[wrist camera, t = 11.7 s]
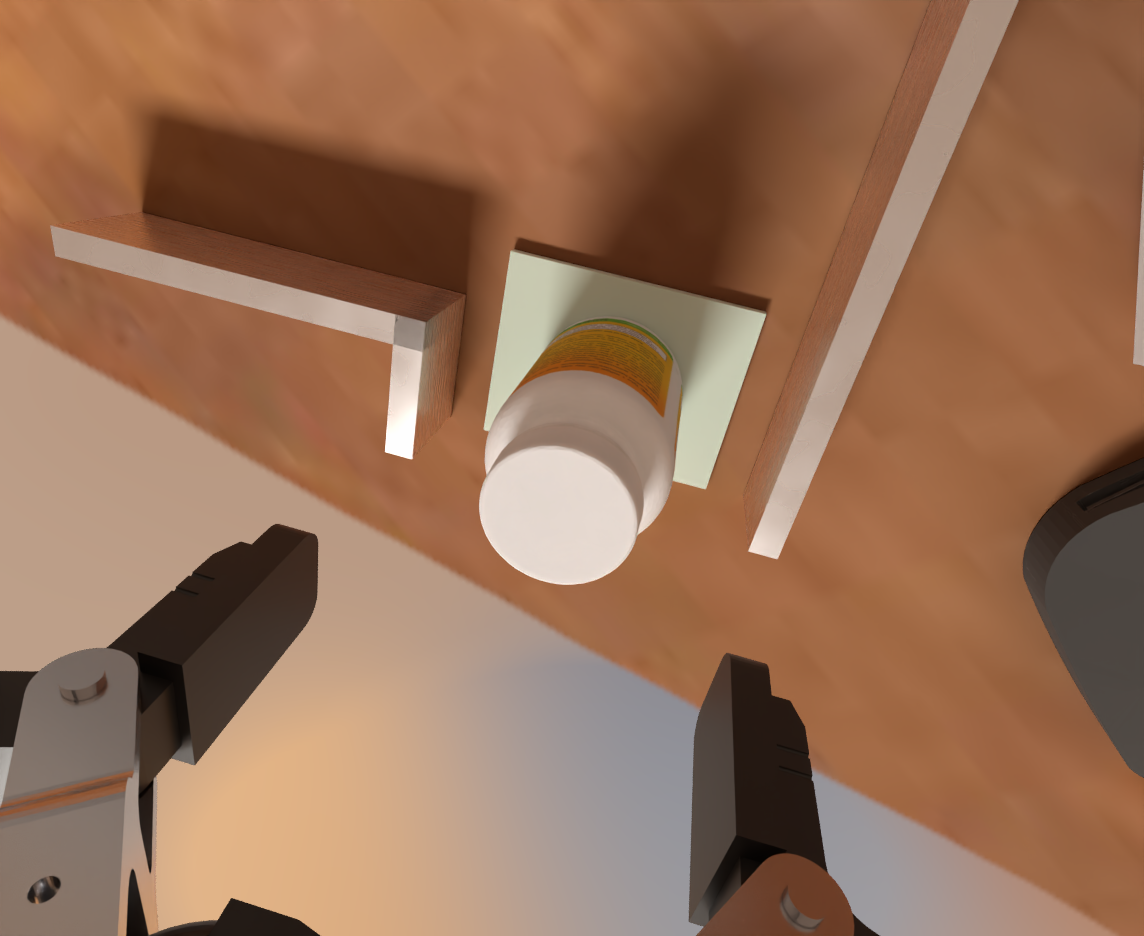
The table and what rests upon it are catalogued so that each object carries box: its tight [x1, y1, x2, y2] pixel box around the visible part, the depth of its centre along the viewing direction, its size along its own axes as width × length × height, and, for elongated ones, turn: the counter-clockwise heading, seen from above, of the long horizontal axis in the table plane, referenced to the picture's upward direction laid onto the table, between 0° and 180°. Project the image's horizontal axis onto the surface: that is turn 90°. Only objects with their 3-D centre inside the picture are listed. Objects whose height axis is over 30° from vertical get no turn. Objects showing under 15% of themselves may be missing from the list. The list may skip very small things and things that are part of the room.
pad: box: [484, 249, 766, 489], centre depth 25 cm, size 7×9×1 cm
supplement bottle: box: [479, 316, 683, 585], centre depth 20 cm, size 5×5×10 cm
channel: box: [50, 0, 1019, 559], centre depth 21 cm, size 18×26×4 cm
